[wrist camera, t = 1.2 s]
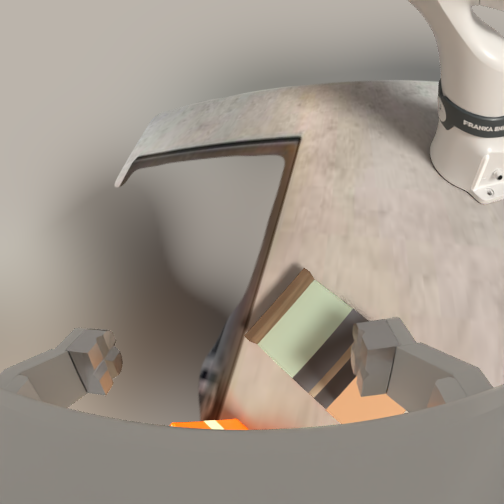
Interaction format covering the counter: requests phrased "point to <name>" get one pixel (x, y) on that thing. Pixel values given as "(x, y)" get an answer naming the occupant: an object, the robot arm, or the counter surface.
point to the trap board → (327, 356)
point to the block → (362, 406)
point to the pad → (304, 328)
